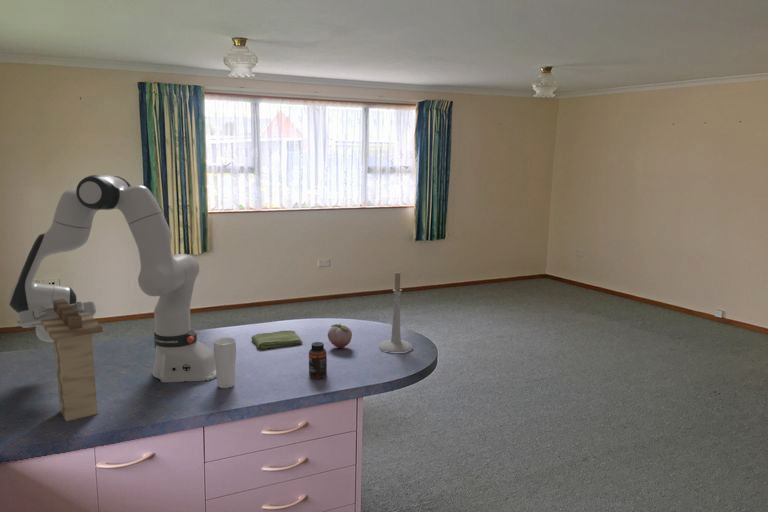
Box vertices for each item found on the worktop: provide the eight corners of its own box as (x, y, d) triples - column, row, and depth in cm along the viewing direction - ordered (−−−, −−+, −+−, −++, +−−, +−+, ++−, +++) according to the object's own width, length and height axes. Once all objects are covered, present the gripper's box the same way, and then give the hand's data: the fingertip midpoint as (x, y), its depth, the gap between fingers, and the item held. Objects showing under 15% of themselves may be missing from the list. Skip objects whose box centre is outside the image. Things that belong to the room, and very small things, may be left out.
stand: (49, 407, 169) (41, 319, 164) (94, 397, 176) (88, 312, 171) (61, 429, 157) (52, 335, 152) (109, 417, 164) (102, 326, 159)
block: (53, 310, 173) (52, 300, 172) (65, 308, 175) (64, 298, 174) (69, 329, 156) (69, 319, 155) (82, 327, 158) (81, 317, 157)
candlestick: (389, 356, 215) (391, 276, 210) (373, 345, 226) (374, 269, 220) (418, 350, 222) (421, 273, 216) (401, 340, 233) (403, 266, 227)
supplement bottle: (329, 373, 198) (329, 342, 196) (322, 380, 192) (322, 347, 190) (313, 371, 200) (313, 339, 197) (305, 377, 194) (305, 345, 192)
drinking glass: (217, 381, 190) (215, 337, 187) (238, 381, 190) (237, 337, 187) (212, 390, 183) (211, 344, 180) (235, 390, 184) (233, 344, 181)
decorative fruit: (356, 347, 223) (357, 322, 221) (343, 353, 216) (344, 327, 215) (336, 342, 228) (337, 317, 226) (323, 348, 221) (323, 323, 219)
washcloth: (304, 345, 225) (304, 337, 225) (258, 352, 218) (258, 343, 217) (293, 335, 237) (293, 327, 236) (250, 340, 229) (250, 333, 229)
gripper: (14, 315, 176) (17, 302, 165) (88, 304, 188) (96, 291, 178) (17, 335, 174) (21, 323, 164) (92, 323, 187) (100, 311, 177)
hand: (61, 306), depth 171 cm, fingers open, 8 cm apart
